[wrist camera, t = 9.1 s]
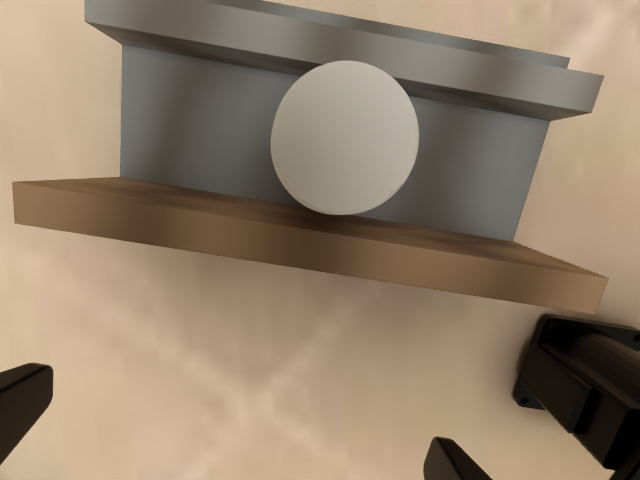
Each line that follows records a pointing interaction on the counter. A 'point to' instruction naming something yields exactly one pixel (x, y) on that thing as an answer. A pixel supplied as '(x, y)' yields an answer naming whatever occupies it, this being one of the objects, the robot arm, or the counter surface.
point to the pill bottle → (344, 138)
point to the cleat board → (257, 166)
